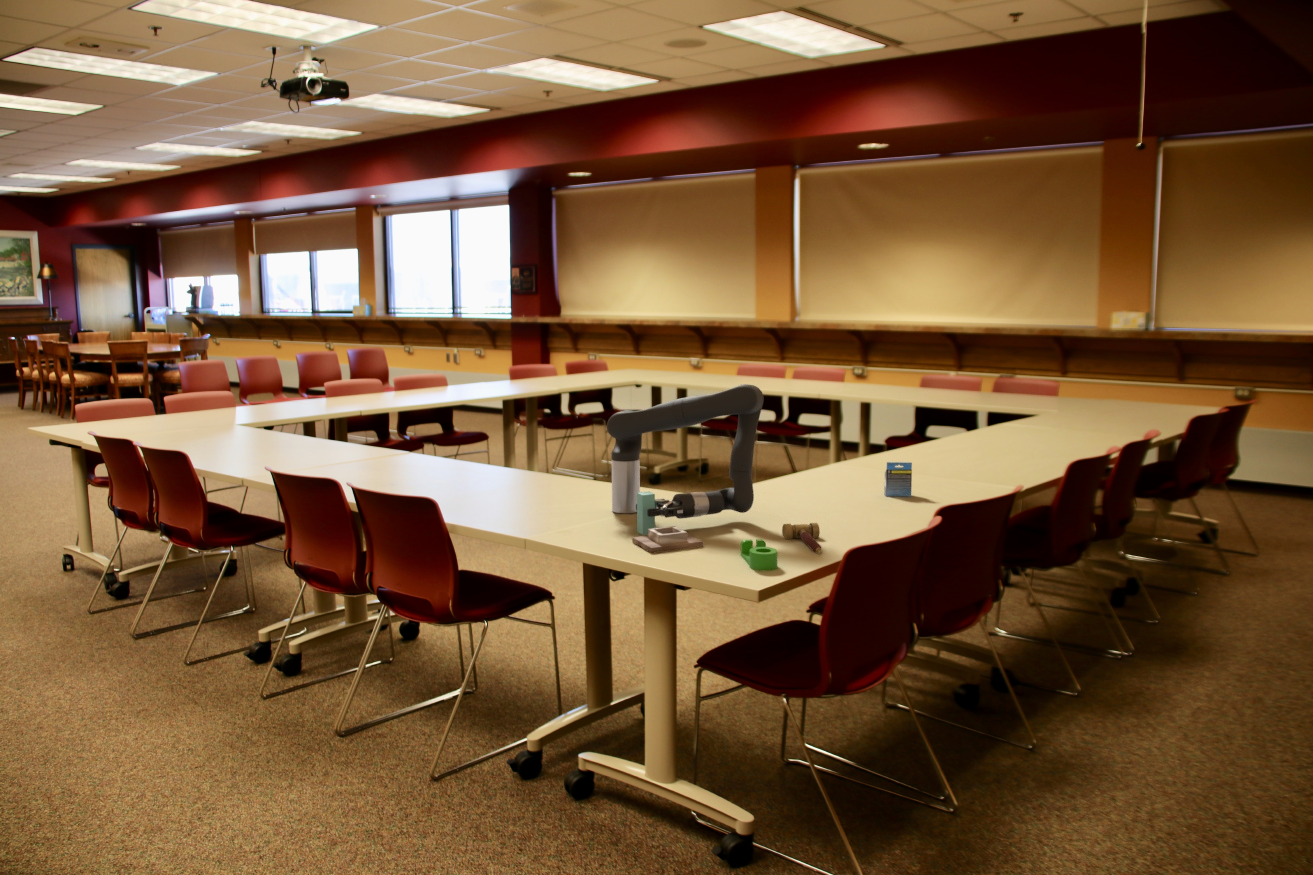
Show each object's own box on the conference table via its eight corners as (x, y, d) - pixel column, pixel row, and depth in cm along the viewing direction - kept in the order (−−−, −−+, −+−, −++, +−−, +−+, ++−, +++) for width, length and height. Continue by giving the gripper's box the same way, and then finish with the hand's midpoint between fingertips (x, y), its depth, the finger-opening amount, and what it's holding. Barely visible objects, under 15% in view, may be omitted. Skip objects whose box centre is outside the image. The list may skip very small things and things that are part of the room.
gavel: (838, 543, 244) (802, 544, 243) (837, 559, 245) (802, 561, 244) (815, 520, 264) (782, 521, 263) (814, 535, 265) (781, 536, 264)
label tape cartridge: (909, 494, 321) (910, 460, 320) (911, 497, 318) (912, 462, 316) (883, 494, 322) (884, 460, 321) (885, 496, 318) (886, 462, 317)
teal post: (637, 532, 270) (636, 492, 268) (649, 530, 272) (649, 491, 270) (642, 534, 266) (642, 495, 265) (655, 533, 268) (654, 493, 266)
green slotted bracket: (780, 571, 230) (780, 553, 229) (753, 572, 229) (753, 554, 228) (765, 555, 245) (765, 538, 244) (739, 556, 244) (739, 539, 243)
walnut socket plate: (632, 542, 258) (632, 528, 258) (682, 536, 265) (682, 522, 264) (651, 553, 246) (651, 538, 246) (703, 546, 253) (703, 532, 252)
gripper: (680, 488, 280) (632, 493, 273) (701, 497, 267) (651, 502, 261) (680, 512, 281) (632, 517, 275) (701, 521, 268) (651, 527, 262)
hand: (641, 510), depth 268 cm, fingers open, 8 cm apart
